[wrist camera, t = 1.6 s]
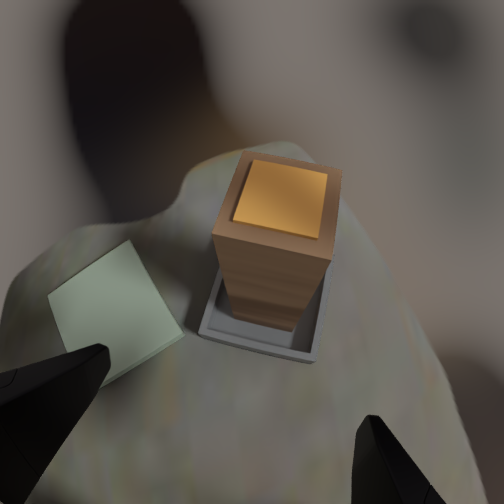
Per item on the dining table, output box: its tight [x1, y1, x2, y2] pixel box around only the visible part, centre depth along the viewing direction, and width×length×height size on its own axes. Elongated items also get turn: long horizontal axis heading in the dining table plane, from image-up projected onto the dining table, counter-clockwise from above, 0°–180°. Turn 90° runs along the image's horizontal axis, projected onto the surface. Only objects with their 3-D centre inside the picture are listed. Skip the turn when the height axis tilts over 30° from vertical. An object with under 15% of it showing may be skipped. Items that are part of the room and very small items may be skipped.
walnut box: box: [211, 151, 342, 333], centre depth 17 cm, size 4×4×13 cm
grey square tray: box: [198, 254, 335, 364], centre depth 23 cm, size 9×9×2 cm
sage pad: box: [48, 240, 185, 389], centre depth 23 cm, size 10×10×1 cm
